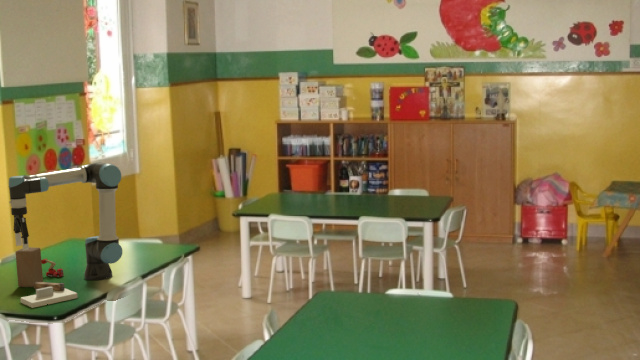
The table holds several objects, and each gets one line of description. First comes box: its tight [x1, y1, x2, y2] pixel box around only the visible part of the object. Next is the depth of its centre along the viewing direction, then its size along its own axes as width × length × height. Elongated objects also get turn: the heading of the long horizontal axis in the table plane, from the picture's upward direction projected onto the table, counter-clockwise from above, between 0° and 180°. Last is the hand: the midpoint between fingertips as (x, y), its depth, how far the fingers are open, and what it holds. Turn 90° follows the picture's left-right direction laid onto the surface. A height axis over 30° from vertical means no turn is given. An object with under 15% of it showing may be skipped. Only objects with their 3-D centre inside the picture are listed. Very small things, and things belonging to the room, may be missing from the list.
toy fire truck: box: [41, 258, 65, 278], centre depth 486 cm, size 3×14×10 cm, turn 71°
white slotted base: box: [20, 287, 79, 309], centre depth 436 cm, size 24×14×6 cm, turn 131°
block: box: [15, 247, 44, 288], centre depth 467 cm, size 10×10×20 cm
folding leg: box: [33, 281, 65, 291], centre depth 447 cm, size 17×3×3 cm, turn 71°
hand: (22, 247), depth 438 cm, fingers open, 13 cm apart
